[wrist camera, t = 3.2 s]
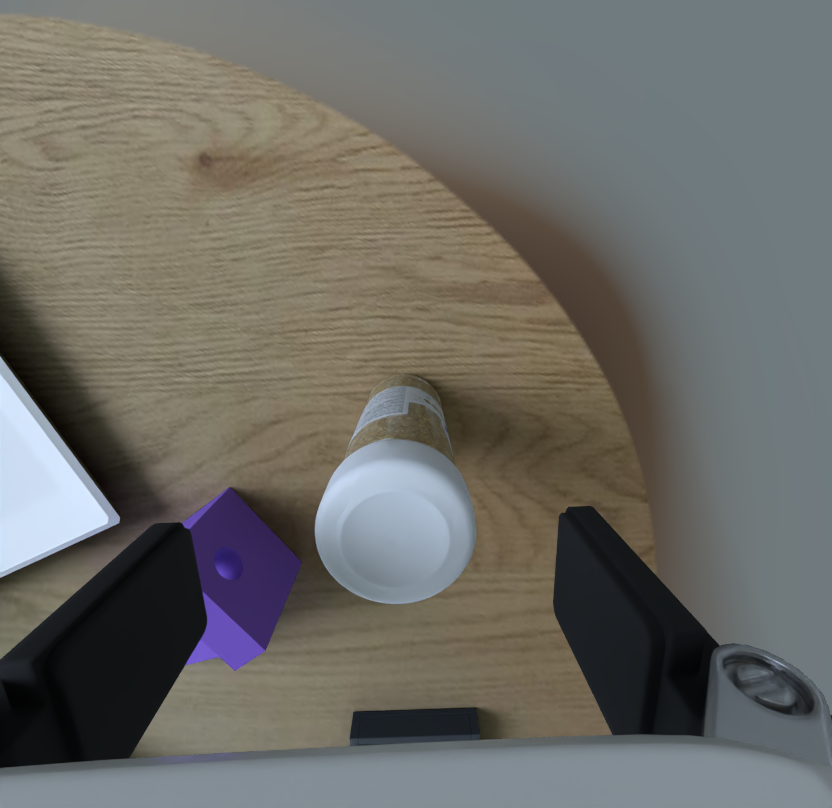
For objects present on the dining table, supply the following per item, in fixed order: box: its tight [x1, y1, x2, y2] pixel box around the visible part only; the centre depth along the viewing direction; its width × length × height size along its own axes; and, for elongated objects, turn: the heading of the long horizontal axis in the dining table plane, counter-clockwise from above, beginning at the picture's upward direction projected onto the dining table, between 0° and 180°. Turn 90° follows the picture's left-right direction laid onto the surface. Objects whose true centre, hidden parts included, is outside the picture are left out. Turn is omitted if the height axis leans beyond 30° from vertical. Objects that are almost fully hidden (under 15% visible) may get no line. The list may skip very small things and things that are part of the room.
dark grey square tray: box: [350, 708, 480, 746], centre depth 30 cm, size 9×9×2 cm
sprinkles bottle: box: [315, 374, 476, 604], centre depth 17 cm, size 5×5×13 cm
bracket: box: [182, 487, 302, 670], centre depth 23 cm, size 12×7×7 cm, turn 127°
